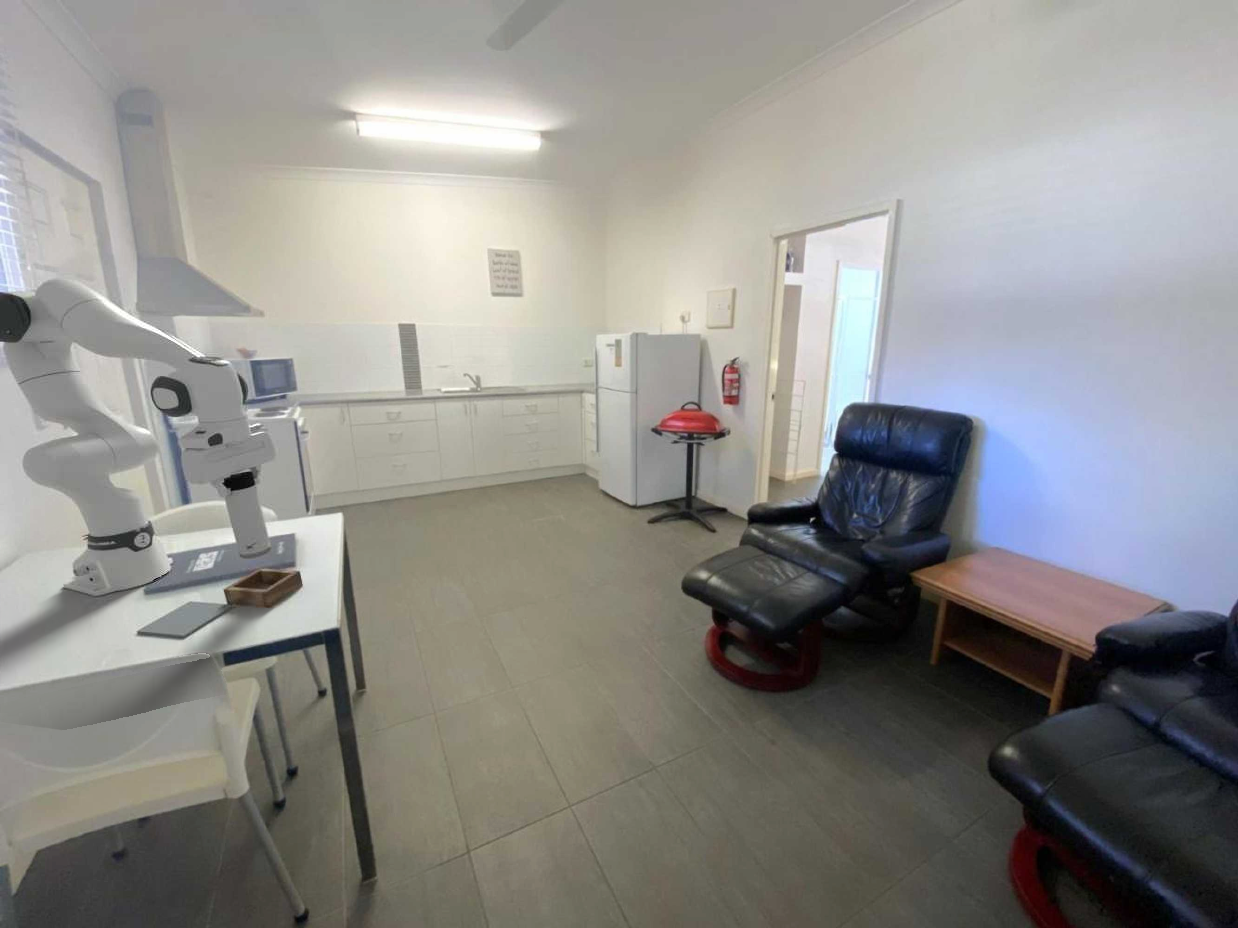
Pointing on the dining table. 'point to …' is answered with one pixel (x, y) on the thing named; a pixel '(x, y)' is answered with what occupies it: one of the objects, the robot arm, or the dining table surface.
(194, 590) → the dining table surface
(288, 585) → the walnut tray
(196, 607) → the slate mat
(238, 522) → the travel mug
